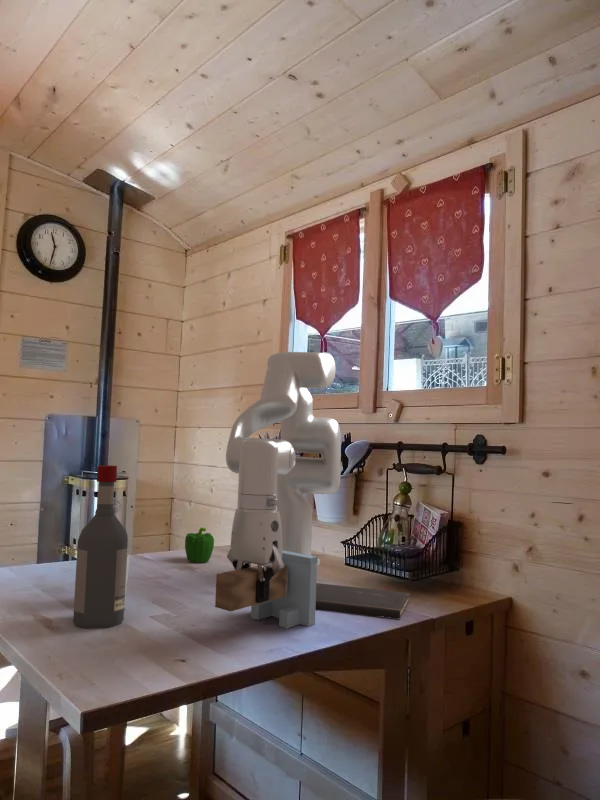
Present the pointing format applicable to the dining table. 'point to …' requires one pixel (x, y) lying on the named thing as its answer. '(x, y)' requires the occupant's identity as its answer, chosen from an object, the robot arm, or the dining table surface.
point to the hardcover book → (360, 600)
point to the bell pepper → (199, 546)
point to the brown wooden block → (246, 587)
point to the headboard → (293, 593)
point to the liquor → (101, 561)
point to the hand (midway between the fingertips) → (253, 597)
